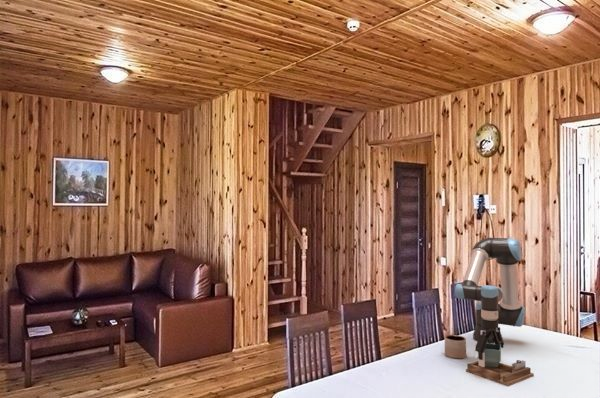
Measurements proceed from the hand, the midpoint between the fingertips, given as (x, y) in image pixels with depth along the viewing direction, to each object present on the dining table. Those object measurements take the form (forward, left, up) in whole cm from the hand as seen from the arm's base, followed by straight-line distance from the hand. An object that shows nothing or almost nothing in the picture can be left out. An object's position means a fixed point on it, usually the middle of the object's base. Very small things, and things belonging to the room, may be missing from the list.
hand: (489, 363), depth 209 cm
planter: (-25, +8, -5) cm, 27 cm away
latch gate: (+10, +7, -3) cm, 13 cm away
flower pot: (0, +1, -1) cm, 2 cm away
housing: (+3, +3, -5) cm, 6 cm away
